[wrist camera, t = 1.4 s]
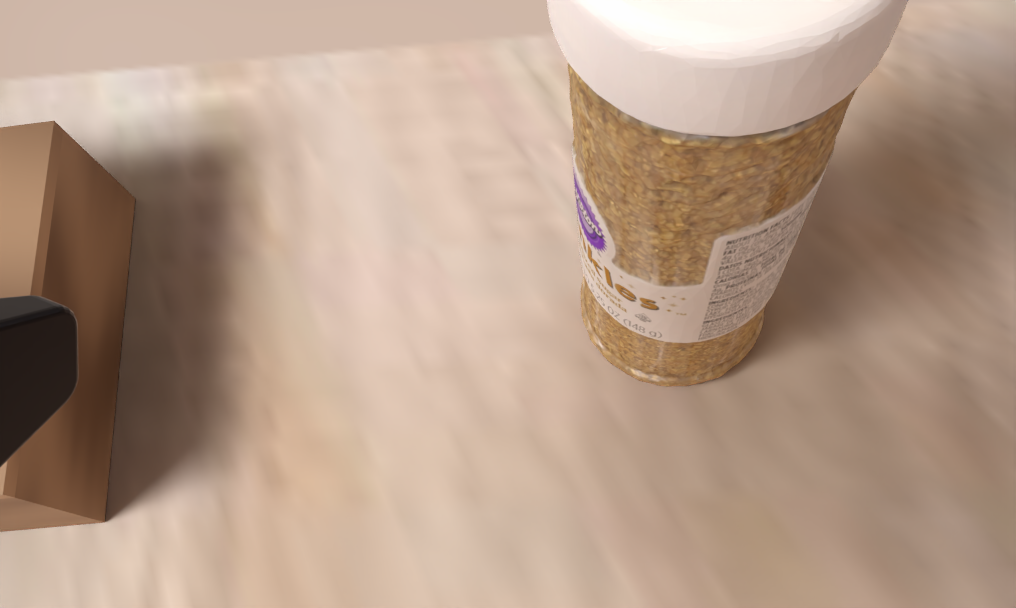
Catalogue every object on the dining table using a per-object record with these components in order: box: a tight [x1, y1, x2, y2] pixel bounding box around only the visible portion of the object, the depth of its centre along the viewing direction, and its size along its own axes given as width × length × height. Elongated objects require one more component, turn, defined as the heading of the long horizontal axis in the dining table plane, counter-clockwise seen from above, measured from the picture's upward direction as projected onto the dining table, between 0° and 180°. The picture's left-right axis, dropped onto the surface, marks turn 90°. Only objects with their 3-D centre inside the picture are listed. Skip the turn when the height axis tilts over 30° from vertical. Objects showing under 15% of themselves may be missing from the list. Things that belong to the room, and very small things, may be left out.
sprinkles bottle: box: [547, 0, 908, 386], centre depth 17 cm, size 5×5×14 cm
